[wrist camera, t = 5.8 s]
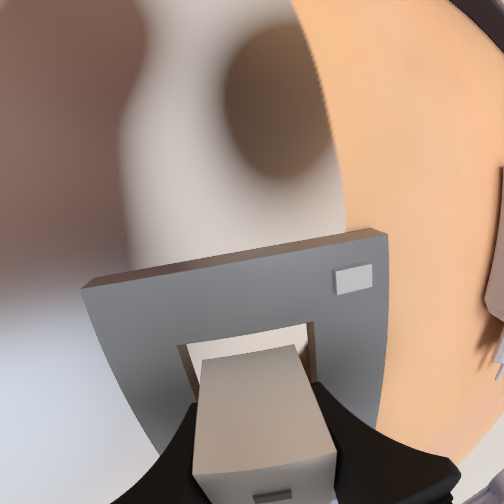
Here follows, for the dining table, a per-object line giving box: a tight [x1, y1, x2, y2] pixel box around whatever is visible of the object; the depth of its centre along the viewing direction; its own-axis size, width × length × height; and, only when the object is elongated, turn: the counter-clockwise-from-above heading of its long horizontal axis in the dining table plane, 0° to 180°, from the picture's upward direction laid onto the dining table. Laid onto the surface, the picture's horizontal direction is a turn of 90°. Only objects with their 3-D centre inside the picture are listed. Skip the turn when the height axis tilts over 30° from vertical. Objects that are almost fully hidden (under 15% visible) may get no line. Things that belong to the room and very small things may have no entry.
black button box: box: [449, 0, 504, 53], centre depth 8 cm, size 11×4×15 cm
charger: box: [192, 345, 337, 504], centre depth 9 cm, size 4×4×6 cm
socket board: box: [80, 228, 389, 500], centre depth 14 cm, size 13×22×2 cm, turn 9°
